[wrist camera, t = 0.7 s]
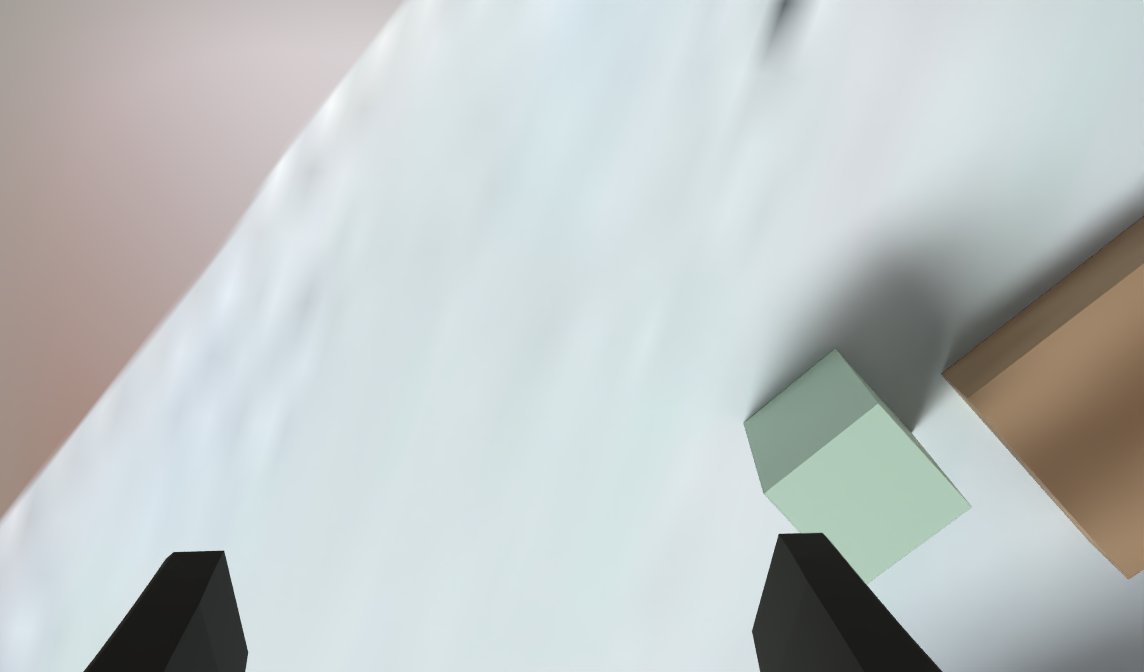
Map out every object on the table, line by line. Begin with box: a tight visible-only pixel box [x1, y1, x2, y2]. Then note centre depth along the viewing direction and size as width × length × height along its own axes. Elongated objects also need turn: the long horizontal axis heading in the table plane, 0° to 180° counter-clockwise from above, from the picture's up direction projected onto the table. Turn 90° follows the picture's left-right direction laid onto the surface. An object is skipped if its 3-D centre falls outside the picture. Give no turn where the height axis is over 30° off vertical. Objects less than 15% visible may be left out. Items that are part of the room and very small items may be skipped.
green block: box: [744, 349, 972, 585], centre depth 27 cm, size 4×4×6 cm
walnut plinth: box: [941, 216, 1144, 579], centre depth 28 cm, size 8×8×3 cm
